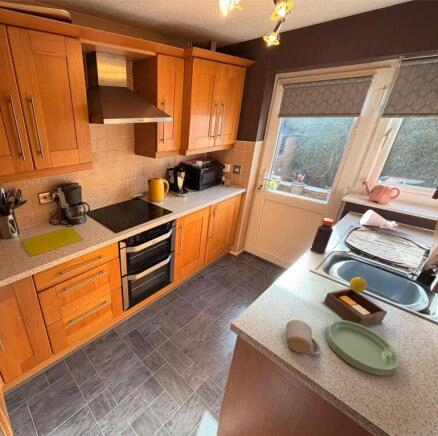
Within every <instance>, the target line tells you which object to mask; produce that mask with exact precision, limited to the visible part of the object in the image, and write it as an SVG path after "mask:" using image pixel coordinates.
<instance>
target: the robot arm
mask: <svg viewBox="0 0 438 436" xmlns="http://www.w3.org/2000/svg"><path fill="white" fill-rule="evenodd" d="M434 269H435V270H434ZM437 277H438V244H436V245H435V247H434V249H433V250H432V251H431V253H430V255H429V256H428V258H427V259H426V261H425V262H424V263H423V266H422V268H421V271H420V273H419V274H418V276H417V278H416V279H415V281H416V282H418V283H419V284H421V285H423V286H425V287H428V288H429V287H431V286H432V285H433V283H434V282H435V280H436V279H437Z"/></svg>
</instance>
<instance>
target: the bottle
mask: <svg viewBox="0 0 438 436" xmlns="http://www.w3.org/2000/svg"><path fill="white" fill-rule="evenodd" d="M334 223H335V220H333V219H330V218H323V219H322V222H321V224H320V225H319V226H318V227H317V229H316V233H315V235H314V237H313V241H312V244H311V247H312V248H311V247H310V250H311V251H312V252H314V253H316V254H319V255H320V254H321V255H322V254H324V253H326V250H327V247H328V245H329V242H330V239H331V237H332V234H333V232H334V229H333V225H334Z"/></svg>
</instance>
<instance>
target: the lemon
mask: <svg viewBox="0 0 438 436" xmlns="http://www.w3.org/2000/svg"><path fill="white" fill-rule="evenodd" d="M367 287H368V283H367V281H366V280H365V279H364V278H363V277H360V276H356V277H353V278H352V279H351V280H350V282H349V288H352V289H353V290H355V291H356V292H358V293H363V292H364V291H365V290H366V289H367Z"/></svg>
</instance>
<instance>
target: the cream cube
mask: <svg viewBox="0 0 438 436" xmlns="http://www.w3.org/2000/svg"><path fill="white" fill-rule="evenodd" d="M351 309H352V310H353V311H355V312H356V313H357V314H359V315H360V316H361V317H362V316H366V315H370V312H368V311H367V310H365V309H364V308H362V307H361V306H360V305H353V306H351Z"/></svg>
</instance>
